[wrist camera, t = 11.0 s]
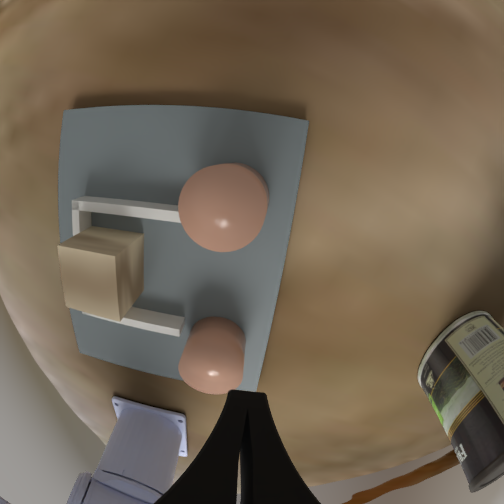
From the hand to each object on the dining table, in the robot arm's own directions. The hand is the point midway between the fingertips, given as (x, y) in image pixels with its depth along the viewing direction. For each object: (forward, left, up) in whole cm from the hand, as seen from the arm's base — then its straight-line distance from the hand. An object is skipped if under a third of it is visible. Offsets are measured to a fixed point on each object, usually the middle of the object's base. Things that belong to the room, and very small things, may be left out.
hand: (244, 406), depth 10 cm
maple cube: (+1, +9, -9) cm, 13 cm away
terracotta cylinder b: (+6, +2, -9) cm, 11 cm away
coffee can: (-5, -22, -10) cm, 24 cm away
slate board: (+1, +6, -10) cm, 12 cm away
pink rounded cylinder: (-4, +2, -9) cm, 10 cm away
